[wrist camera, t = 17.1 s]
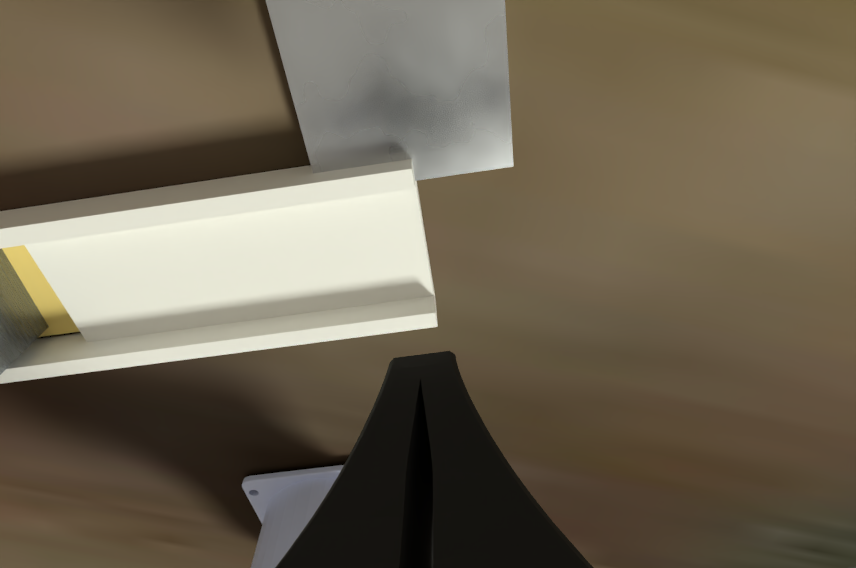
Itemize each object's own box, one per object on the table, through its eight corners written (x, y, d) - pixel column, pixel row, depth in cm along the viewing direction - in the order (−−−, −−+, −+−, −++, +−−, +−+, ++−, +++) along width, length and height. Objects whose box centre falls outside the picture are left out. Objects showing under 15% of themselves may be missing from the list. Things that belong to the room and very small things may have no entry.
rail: (435, 298, 22) (437, 326, 20) (-84, 368, 23) (-124, 399, 21) (411, 149, 18) (411, 168, 17) (-200, 240, 20) (-258, 266, 18)
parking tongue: (508, 157, 19) (513, 166, 18) (322, 184, 19) (318, 194, 18) (495, -73, 15) (500, -76, 14) (264, -34, 15) (256, -34, 14)
